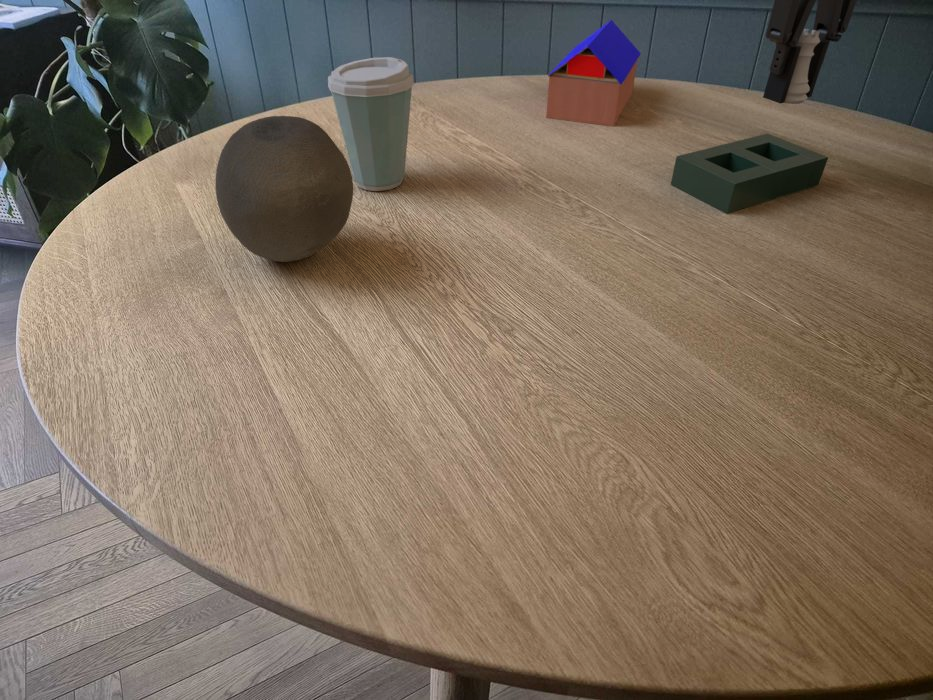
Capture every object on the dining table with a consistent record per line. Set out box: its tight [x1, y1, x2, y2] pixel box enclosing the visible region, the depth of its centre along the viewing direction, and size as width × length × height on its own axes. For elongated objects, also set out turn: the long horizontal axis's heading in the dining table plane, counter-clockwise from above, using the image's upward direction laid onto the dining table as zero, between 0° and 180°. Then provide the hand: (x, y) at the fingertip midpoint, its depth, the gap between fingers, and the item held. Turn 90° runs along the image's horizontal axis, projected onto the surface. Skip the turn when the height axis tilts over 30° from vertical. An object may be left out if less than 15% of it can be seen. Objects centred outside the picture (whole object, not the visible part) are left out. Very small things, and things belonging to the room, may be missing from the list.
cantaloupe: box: [215, 115, 354, 263], centre depth 69 cm, size 14×14×15 cm
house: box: [545, 19, 641, 127], centre depth 112 cm, size 12×20×12 cm, turn 160°
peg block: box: [670, 132, 829, 214], centre depth 88 cm, size 18×10×4 cm, turn 120°
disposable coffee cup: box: [327, 56, 415, 192], centre depth 85 cm, size 11×11×15 cm
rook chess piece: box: [783, 28, 820, 105], centre depth 82 cm, size 4×4×8 cm
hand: (787, 96), depth 84 cm, fingers closed on rook chess piece, 4 cm apart
